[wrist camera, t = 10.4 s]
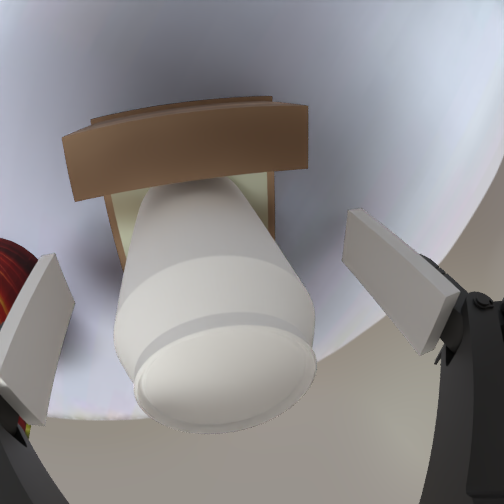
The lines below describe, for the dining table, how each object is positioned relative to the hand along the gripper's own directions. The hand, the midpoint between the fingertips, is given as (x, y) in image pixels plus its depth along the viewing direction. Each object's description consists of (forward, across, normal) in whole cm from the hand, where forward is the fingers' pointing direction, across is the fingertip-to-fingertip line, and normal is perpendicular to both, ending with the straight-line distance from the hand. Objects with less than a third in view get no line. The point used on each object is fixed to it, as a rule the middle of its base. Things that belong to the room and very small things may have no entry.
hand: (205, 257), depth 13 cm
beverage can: (+6, 0, 0) cm, 6 cm away
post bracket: (+7, 0, 0) cm, 7 cm away
